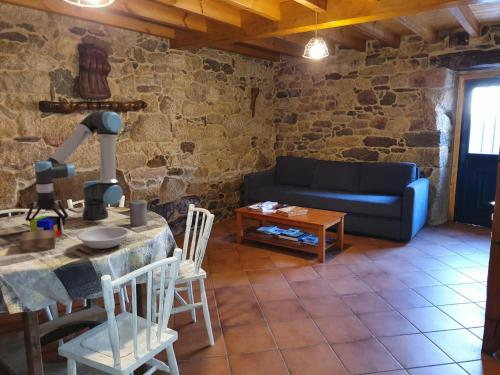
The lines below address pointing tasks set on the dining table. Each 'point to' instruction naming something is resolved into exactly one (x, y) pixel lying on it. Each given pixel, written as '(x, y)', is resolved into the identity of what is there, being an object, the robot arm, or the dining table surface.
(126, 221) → the dining table surface
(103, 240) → the soup bowl
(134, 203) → the pillar candle
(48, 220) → the puzzle toy
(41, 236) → the walnut base block
